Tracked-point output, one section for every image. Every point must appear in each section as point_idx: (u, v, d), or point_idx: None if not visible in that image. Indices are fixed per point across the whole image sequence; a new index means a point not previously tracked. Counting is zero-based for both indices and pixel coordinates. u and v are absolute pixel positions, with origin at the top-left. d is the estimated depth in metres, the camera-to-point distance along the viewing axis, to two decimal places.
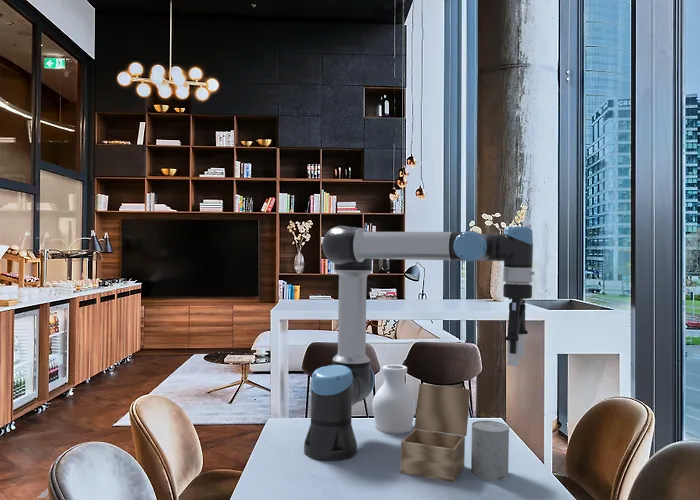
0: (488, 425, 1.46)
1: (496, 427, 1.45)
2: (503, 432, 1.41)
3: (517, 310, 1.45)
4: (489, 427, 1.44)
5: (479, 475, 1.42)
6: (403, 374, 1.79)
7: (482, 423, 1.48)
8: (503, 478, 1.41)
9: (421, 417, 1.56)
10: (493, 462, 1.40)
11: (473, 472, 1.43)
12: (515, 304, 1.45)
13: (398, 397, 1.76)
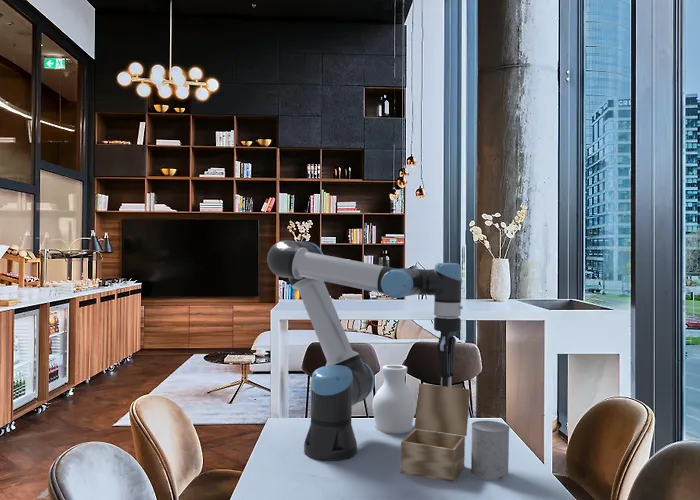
0: (488, 425, 1.46)
1: (496, 427, 1.45)
2: (503, 432, 1.41)
3: (445, 351, 1.54)
4: (489, 427, 1.44)
5: (479, 475, 1.42)
6: (403, 374, 1.79)
7: (482, 423, 1.48)
8: (503, 478, 1.41)
9: (421, 417, 1.56)
10: (493, 462, 1.40)
11: (473, 472, 1.43)
12: (442, 347, 1.53)
13: (398, 397, 1.76)
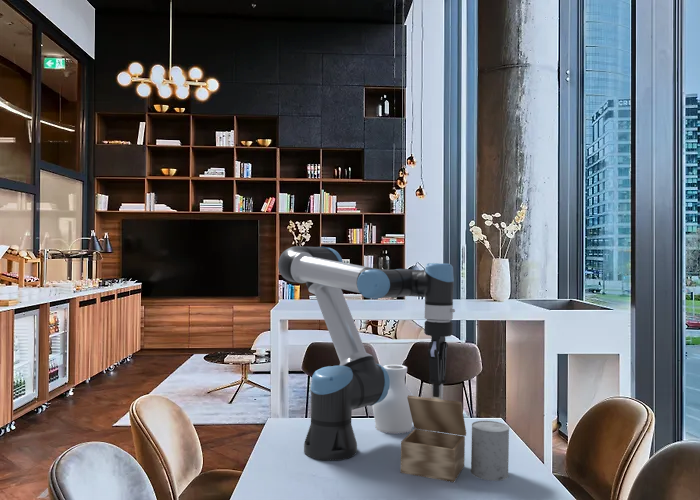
0: (488, 425, 1.46)
1: (496, 427, 1.45)
2: (503, 432, 1.41)
3: (436, 357, 1.45)
4: (489, 427, 1.44)
5: (479, 475, 1.42)
6: (403, 374, 1.79)
7: (482, 423, 1.48)
8: (503, 478, 1.41)
9: (418, 421, 1.53)
10: (493, 462, 1.40)
11: (473, 472, 1.43)
12: (433, 352, 1.44)
13: (398, 397, 1.76)
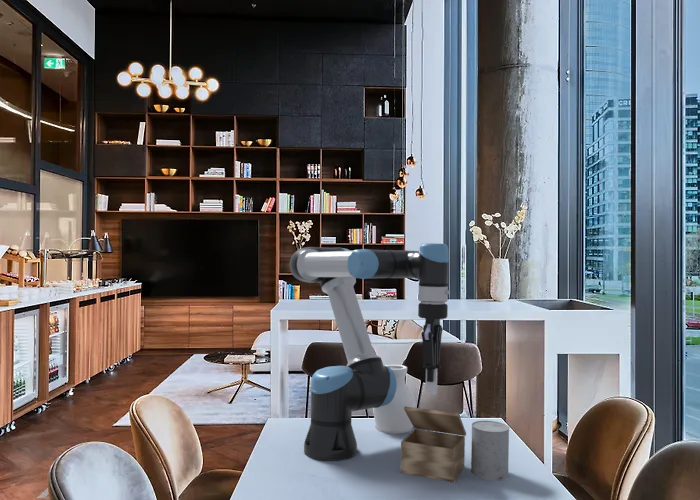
0: (488, 425, 1.46)
1: (496, 427, 1.45)
2: (503, 432, 1.41)
3: (430, 340, 1.39)
4: (489, 427, 1.44)
5: (479, 475, 1.42)
6: (403, 374, 1.79)
7: (482, 423, 1.48)
8: (503, 478, 1.41)
9: (417, 424, 1.52)
10: (493, 462, 1.40)
11: (473, 472, 1.43)
12: (427, 335, 1.39)
13: (398, 397, 1.76)
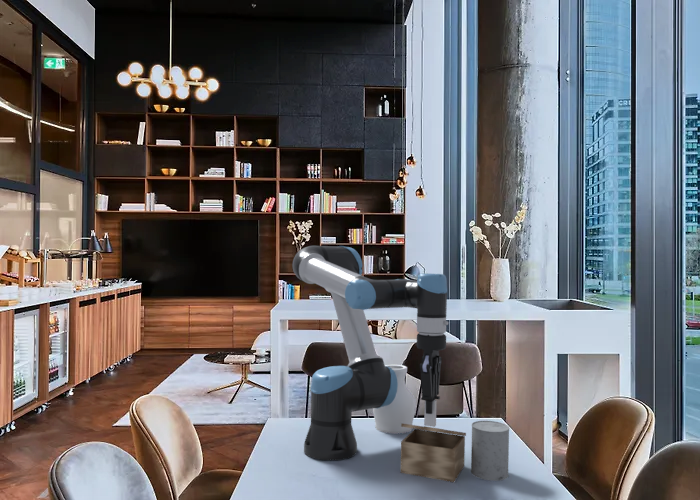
0: (488, 425, 1.46)
1: (496, 427, 1.45)
2: (503, 432, 1.41)
3: (428, 372, 1.38)
4: (489, 427, 1.44)
5: (479, 475, 1.42)
6: (403, 374, 1.79)
7: (482, 423, 1.48)
8: (503, 478, 1.41)
9: None
10: (493, 462, 1.40)
11: (473, 472, 1.43)
12: (425, 367, 1.37)
13: (398, 397, 1.76)
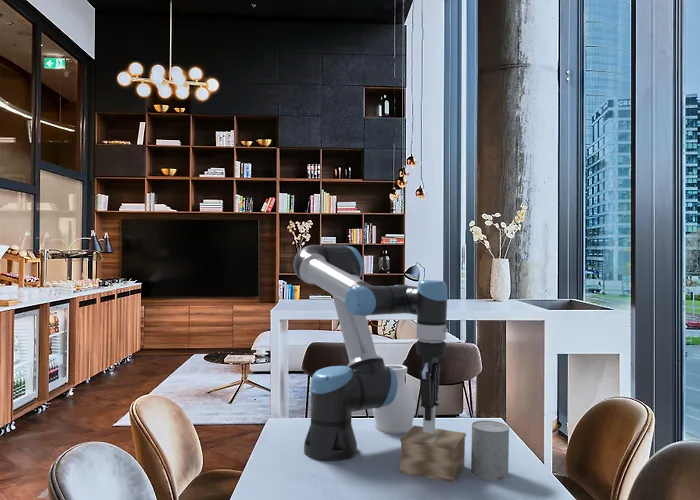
0: (488, 425, 1.46)
1: (496, 427, 1.45)
2: (503, 432, 1.41)
3: (427, 380, 1.38)
4: (489, 427, 1.44)
5: (479, 475, 1.42)
6: (403, 374, 1.79)
7: (482, 423, 1.48)
8: (503, 478, 1.41)
9: None
10: (493, 462, 1.40)
11: (473, 472, 1.43)
12: (425, 375, 1.38)
13: (398, 397, 1.76)
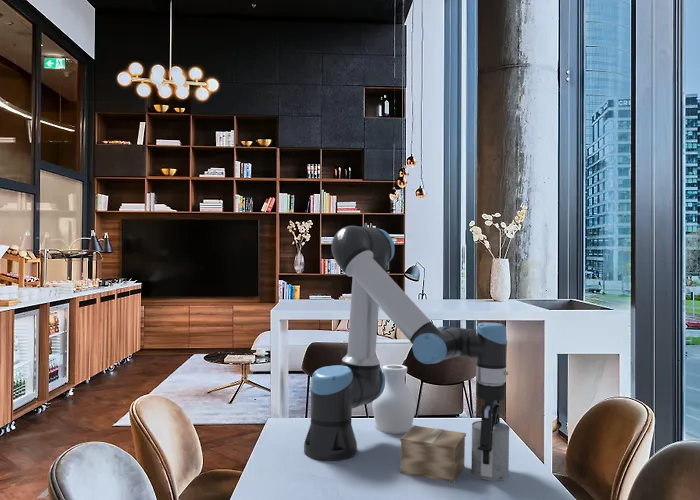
0: None
1: (496, 427, 1.45)
2: (503, 432, 1.41)
3: (489, 418, 1.38)
4: None
5: (479, 475, 1.42)
6: (403, 374, 1.79)
7: None
8: (503, 478, 1.41)
9: None
10: (493, 462, 1.40)
11: (473, 472, 1.43)
12: (487, 412, 1.39)
13: (398, 397, 1.76)
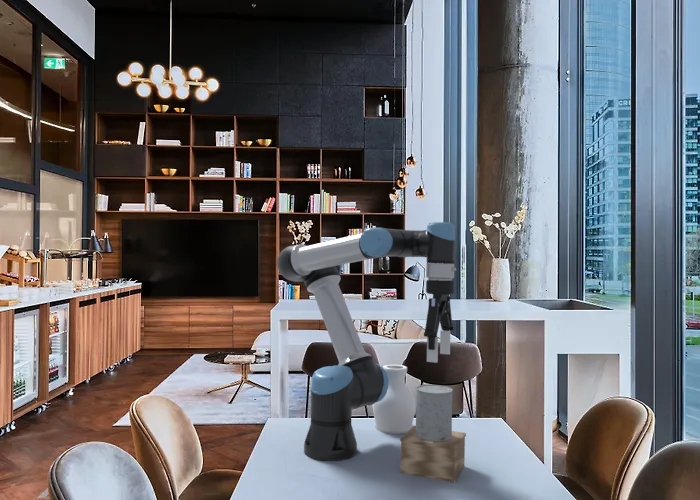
0: (432, 388, 1.48)
1: (440, 390, 1.47)
2: (445, 394, 1.43)
3: (436, 306, 1.44)
4: (433, 390, 1.46)
5: (421, 436, 1.44)
6: (403, 374, 1.79)
7: (427, 386, 1.50)
8: (445, 439, 1.43)
9: None
10: (435, 423, 1.42)
11: (417, 434, 1.45)
12: (434, 300, 1.45)
13: (398, 397, 1.76)
